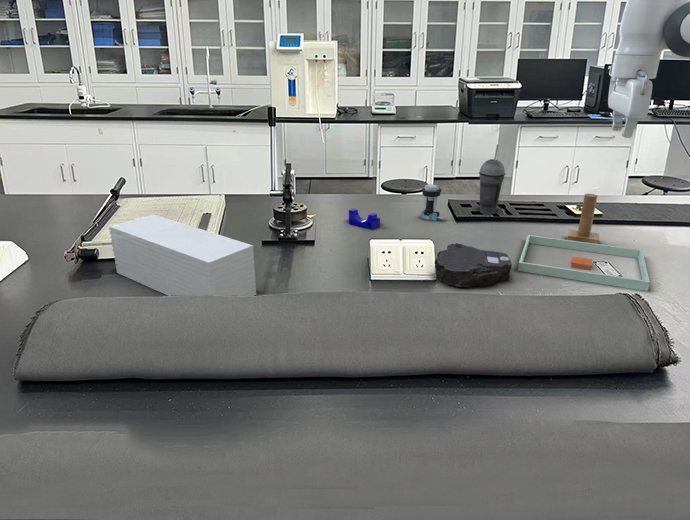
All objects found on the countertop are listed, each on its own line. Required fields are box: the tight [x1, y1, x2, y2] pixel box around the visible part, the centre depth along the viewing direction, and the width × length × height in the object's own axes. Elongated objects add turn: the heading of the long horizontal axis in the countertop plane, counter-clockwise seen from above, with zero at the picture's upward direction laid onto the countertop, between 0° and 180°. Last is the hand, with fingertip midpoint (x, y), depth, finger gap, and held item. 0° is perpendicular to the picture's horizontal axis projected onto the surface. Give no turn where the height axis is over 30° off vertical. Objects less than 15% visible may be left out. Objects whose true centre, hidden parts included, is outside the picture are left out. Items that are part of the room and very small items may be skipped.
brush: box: [566, 193, 600, 244], centre depth 129 cm, size 7×5×13 cm
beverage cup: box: [478, 143, 506, 215], centre depth 153 cm, size 7×7×20 cm
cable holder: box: [348, 208, 381, 231], centre depth 145 cm, size 8×4×4 cm, turn 52°
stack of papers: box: [108, 214, 257, 297], centre depth 108 cm, size 32×11×11 cm, turn 53°
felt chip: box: [570, 256, 593, 271], centre depth 118 cm, size 4×4×1 cm
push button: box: [420, 183, 444, 222], centre depth 147 cm, size 7×5×10 cm
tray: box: [517, 234, 651, 292], centre depth 119 cm, size 25×19×3 cm
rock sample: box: [434, 242, 513, 289], centre depth 114 cm, size 18×16×5 cm
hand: (621, 133), depth 121 cm, fingers open, 8 cm apart
